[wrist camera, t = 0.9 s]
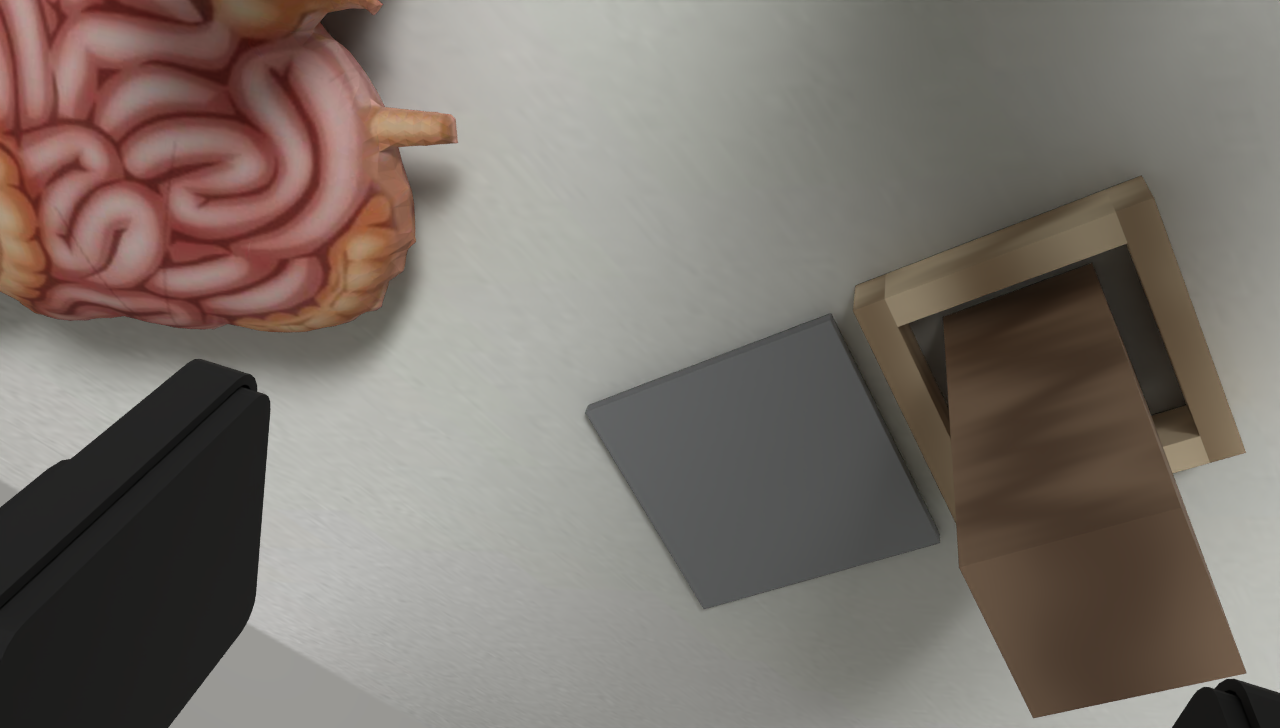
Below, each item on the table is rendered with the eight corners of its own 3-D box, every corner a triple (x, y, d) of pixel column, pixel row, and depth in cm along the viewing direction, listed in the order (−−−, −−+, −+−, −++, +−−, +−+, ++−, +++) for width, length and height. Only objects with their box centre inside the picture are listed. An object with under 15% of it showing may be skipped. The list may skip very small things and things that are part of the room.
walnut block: (1092, 263, 40) (1181, 507, 27) (1141, 388, 42) (1246, 673, 29) (942, 317, 42) (959, 567, 29) (995, 433, 44) (1033, 718, 31)
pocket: (1141, 175, 38) (1154, 197, 36) (1230, 420, 41) (1245, 452, 40) (855, 285, 42) (852, 311, 40) (958, 500, 45) (960, 533, 44)
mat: (831, 313, 43) (830, 320, 42) (939, 534, 46) (940, 542, 46) (588, 405, 47) (585, 412, 46) (705, 600, 51) (703, 609, 50)
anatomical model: (441, 405, 39) (-258, 332, 45) (507, 315, 46) (-114, 262, 52) (384, -117, 31) (-457, -125, 37) (473, -137, 38) (-258, -141, 44)
